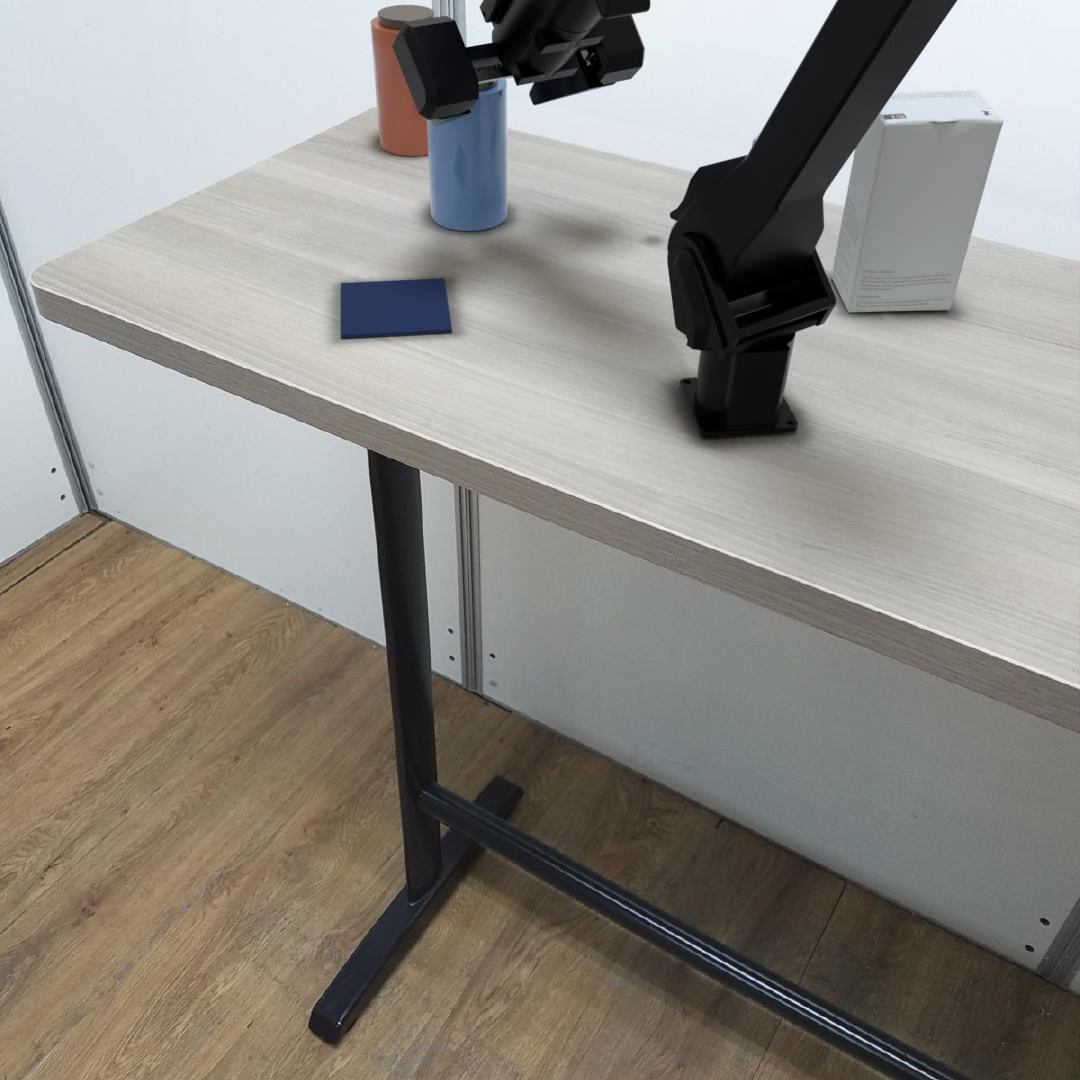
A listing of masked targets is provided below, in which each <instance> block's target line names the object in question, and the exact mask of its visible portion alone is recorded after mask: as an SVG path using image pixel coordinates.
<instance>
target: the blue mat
mask: <svg viewBox="0 0 1080 1080" xmlns="http://www.w3.org/2000/svg"><path fill="white" fill-rule="evenodd" d="M446 286H447V285H446V281H445V278H444V277H441V278H437V277H436V278H421V279H420V278H417V279H399V280H397V279H396V280H378V281H377V280H375V281H355V282H341V283H340V339H343V340H344V339H362V338H377V337H378V338H379V337H380V338H381V337H396V336H397V337H399V336H415V335H416V336H417V335H434V334H435V335H436V334H452V333H453V328H452V321H451V314H450V308H449V307H450V306H449V301H448V294H447V287H446Z"/></svg>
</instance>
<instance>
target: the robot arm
mask: <svg viewBox="0 0 1080 1080" xmlns="http://www.w3.org/2000/svg"><path fill="white" fill-rule="evenodd" d="M957 2H958V0H836V1H835V3H834V5H833V6H832V8H831V10H830V11H829V13H828V15H827V17H826V18H825V20H824V22H823V24H822V25H821V27H820V29H819V30H818V32H817V34H816V36H815V37H814V39H813V41H812V42H811V45H810V46H809V48H808V50H807V51H806V53H805V54H804V56H803V58H802V60H801V62H799V63H800V64H799V65H798V67H797V69H796V70H795V71H794V73H793V76H792V77H791V79H790V81H789V82H788V84H787V86H786V87H785V89H784V91H783V93H782V95H781V96H780V98H779V99H778V102H777V103H776V105H775V107H774V109H773V110H772V112H771V114H770V115H769V117H768V118H767V120H766V122H765V124H764V126H763V128H762V129H761V130H760V132H761V133H760V132H759V133H760V134H759V133H758V134H759V136H758V138H757V139H756V141H755V143H754V145H753V146H752V145H751V148H750V149H749V151H748V153H747V154H745V155H741V156H737V157H732V158H729V159H725V160H721V161H718V162H714V163H710V164H706V165H701V166H699V167H698V168H697V170H696V171H695V173H694V174H693V175H692V176H691V177H690V179H689V182H688V185H687V188H686V191H685V194H684V196H683V199H682V201H681V202H680V203H679V205H678V206H677V207H676V208H674V209H673V210H672V211H670V213H669V218H670V219H671V220H674V221H675V223H674V224H673V225H672V228H671V230H670V233H669V236H668V239H667V245H666V246H667V247H666V250H667V256H666V263H667V272H668V279H669V288H670V295H671V296H670V297H671V302H672V312H673V319H674V328H675V329H676V330H677V331H679V332H680V333H682V334H683V335H685V338H686V346H687V347H689V348H690V349H691V350H693V351H700V352H699V360H698V367H697V374H696V376H695V377H684V378H681V379H679V383H678V384H679V385H678V389H679V390H680V392H681V395H682V397H683V399H684V402H685V404H686V407H687V409H688V411H689V414H690V416H691V419H692V420H693V423H694V426H695V428H696V430H697V433H698V435H699V436H700V437H702V438H704V439H714V438H715V439H716V438H717V439H718V438H729V437H731V438H732V437H744V436H745V437H746V436H747V437H748V436H760V435H761V436H762V435H777V434H791V433H795V432H797V431H798V427H799V421H798V420H797V418H796V416H795V415H794V413H793V411H792V409H791V407H790V406H789V404H788V402H787V399H786V398H785V396H784V395H785V389H786V385H787V379H788V374H789V370H790V365H791V360H792V359H791V358H792V354H793V350H794V349H793V348H794V344H795V339H796V335H797V334H796V333H798V332H800V331H803V330H806V329H809V328H812V327H819V326H821V325H824V324H825V323H826V322H827V320H828V318H829V317H830V315H831V313H832V311H833V310H834V309H835V307H836V305H837V297H836V295H835V292H834V290H833V288H832V285H831V283H830V280H829V277H828V275H827V273H826V270H825V268H824V265H823V263H822V261H821V258H820V256H819V253H818V251H817V248H816V247H817V245H818V243H819V241H820V239H821V237H822V235H823V232H824V229H825V209H824V208H825V207H824V197H825V195H826V192H827V190H828V189H829V187H830V186H831V185H832V183H833V182H834V180H835V178H836V177H837V176H838V174H839V173H840V171H841V170H842V169H843V167H844V166H845V164H847V161H848V160H849V158H850V157H851V155H852V154H853V152H855V148H856V147H857V145H858V144H859V142H860V141H861V139H862V138H863V137H864V135H865V134H866V132H867V131H868V129H869V128H870V126H871V125H872V123H873V122H874V121H875V119H876V118H877V116H878V115H879V113H880V112H881V110H882V109H883V108H884V106H885V105H886V103H887V102H888V100H889V99H890V97H891V96H892V94H893V93H896V90H897V89H898V87H899V86H900V85H901V83H902V81H903V80H904V79H905V78H906V76H907V74H908V73H909V71H910V70H911V69H912V67H913V65H914V64H915V63H916V61H917V60H918V58H919V57H920V55H921V54H922V52H923V51H924V49H925V48H926V47H927V46H928V44H929V43H930V41H931V39H932V38H933V36H934V35H935V34H936V32H937V31H938V29H939V28H940V26H941V25H942V24H943V22H944V21H945V19H946V18H947V16H948V15H949V13H950V12H951V11H952V9H953V8H954V6H955V5H956V3H957ZM650 9H651V0H482V2H481V3H480V5H479V10H480V12H481V14H482V17H483V20H484V22H485V23H486V24H489V23H491V24H492V27H493V29H492V30H491V42H487V43H482V44H477V45H470V46H466V44H465V41H464V38H463V37H462V34H461V31H460V29H459V27H458V24H457V21H456V20H455V19H454V18H451V17H449V16H448V15H443V16H442V15H441V16H437V17H435V18H429V19H422V20H416V21H410V22H404V23H403V25H402V27H401V29H400V31H399V33H398V35H397V37H396V39H395V41H394V43H393V45H392V48H393V50H394V53H395V55H396V58H397V60H398V63H399V65H400V68H401V70H402V73H403V75H404V78H405V80H406V83H407V85H408V88H409V91H410V93H411V96H412V98H413V101H414V103H415V106H416V108H417V111H418V113H419V115H421V116H423V117H424V118H426V119H428V120H431V122H432V124H433V126H437V125H441V124H444V123H447V122H449V121H452V120H455V119H457V118H460V117H463V116H466V115H469V114H470V113H471V111H470V108H472V107H474V105H475V104H476V102H477V101H478V99H479V84H481V83H486V82H492V81H497V80H502V79H505V80H506V79H513V81H514V83H515V85H516V87H518V86H523V85H528V84H532V85H531V88H530V89H529V92H528V96H529V98H530V101H531V103H532V105H533V106H539V105H542V104H546V103H549V102H554V101H557V100H560V99H564V98H568V97H572V96H575V95H580V94H583V93H588V92H591V91H594V90H598V89H602V88H606V87H610V86H614V85H615V84H616V83H619V82H624V81H629V80H632V79H633V78H634V77H635V75H636V74H637V73H638V72H639V71H640V70H641V69H642V68H643V66H644V63H645V55H646V48H645V45H644V41H643V40H642V37H641V35H640V32H639V28H638V27H637V24H636V22H635V19H634V17H633V15H636V14H644V13H647V12H649V11H650ZM482 69H483V70H482ZM477 70H478V71H477Z"/></svg>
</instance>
